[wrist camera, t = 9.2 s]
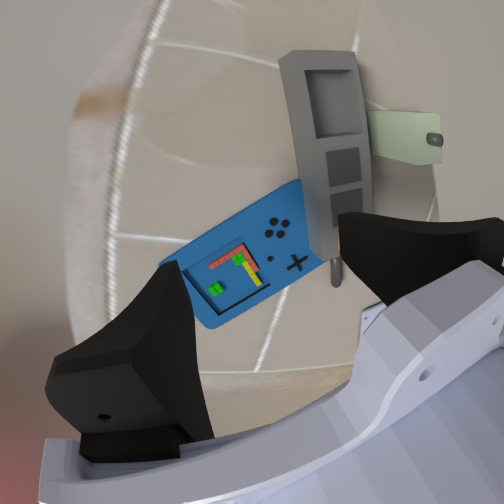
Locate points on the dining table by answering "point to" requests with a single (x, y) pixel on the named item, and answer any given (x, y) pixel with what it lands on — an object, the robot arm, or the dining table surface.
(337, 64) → the power strip
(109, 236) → the dining table surface
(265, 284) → the handheld gaming device
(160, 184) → the dining table surface
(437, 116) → the charger
